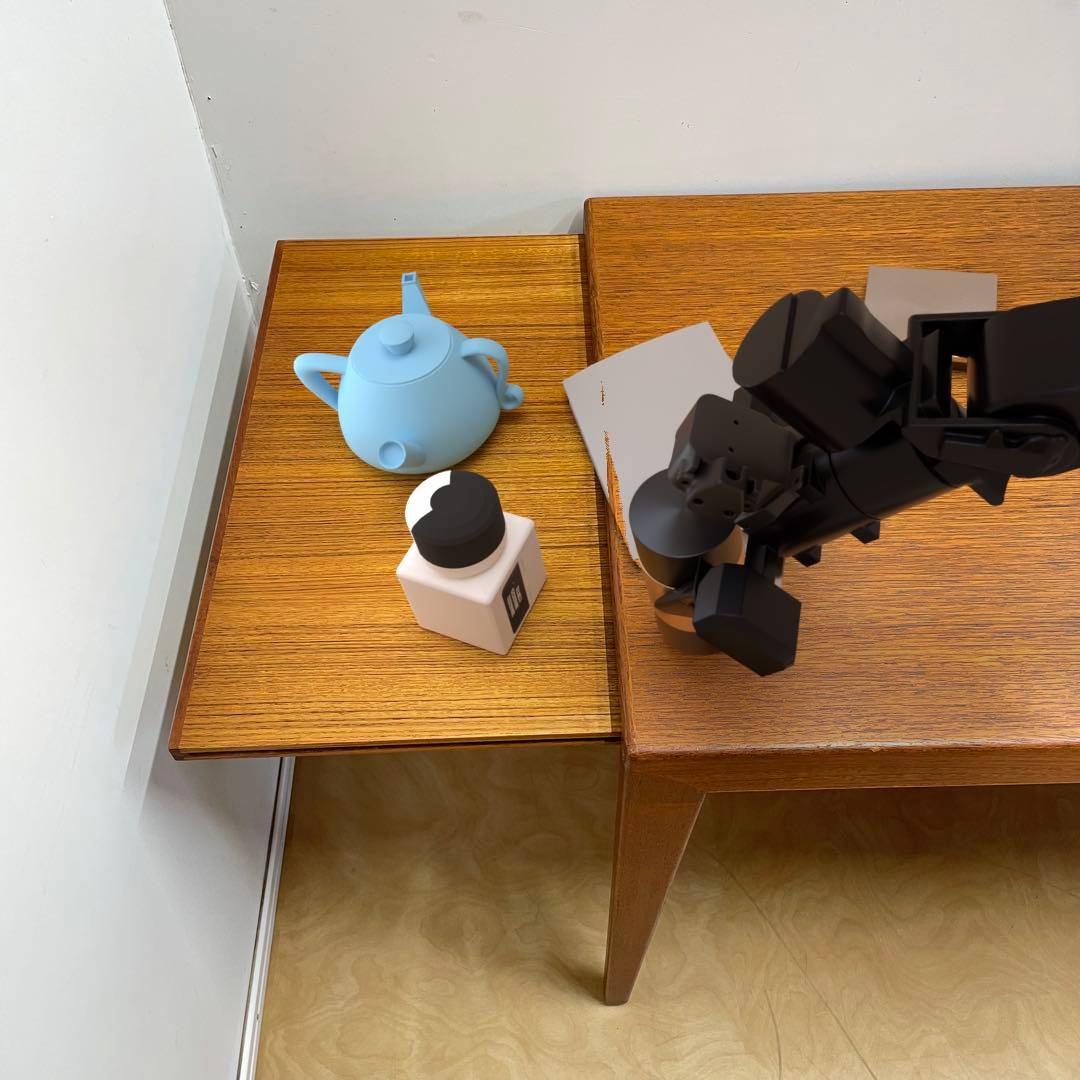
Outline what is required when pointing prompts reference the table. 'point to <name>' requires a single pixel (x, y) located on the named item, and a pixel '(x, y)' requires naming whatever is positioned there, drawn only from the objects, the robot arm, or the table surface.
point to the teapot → (414, 389)
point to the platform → (926, 296)
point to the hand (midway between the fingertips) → (668, 561)
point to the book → (646, 404)
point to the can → (677, 551)
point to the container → (469, 561)
